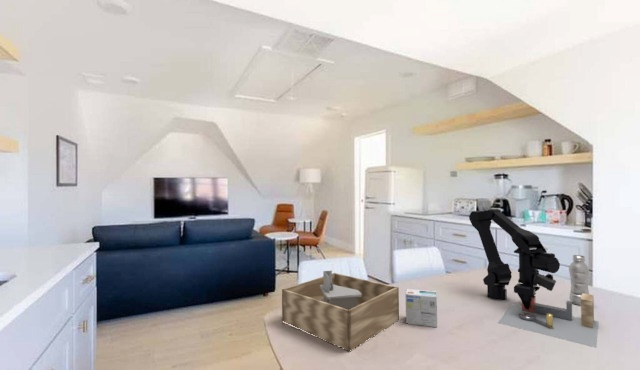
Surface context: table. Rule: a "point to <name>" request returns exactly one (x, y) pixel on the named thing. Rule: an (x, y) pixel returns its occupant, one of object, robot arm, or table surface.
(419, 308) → the light bulb box
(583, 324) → the tan rectangular block
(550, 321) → the metal measuring spoon
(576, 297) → the plastic bottle
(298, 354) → the table surface
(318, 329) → the wooden crate
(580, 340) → the board
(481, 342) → the table surface
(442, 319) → the table surface
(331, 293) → the architectural model
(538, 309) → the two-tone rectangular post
